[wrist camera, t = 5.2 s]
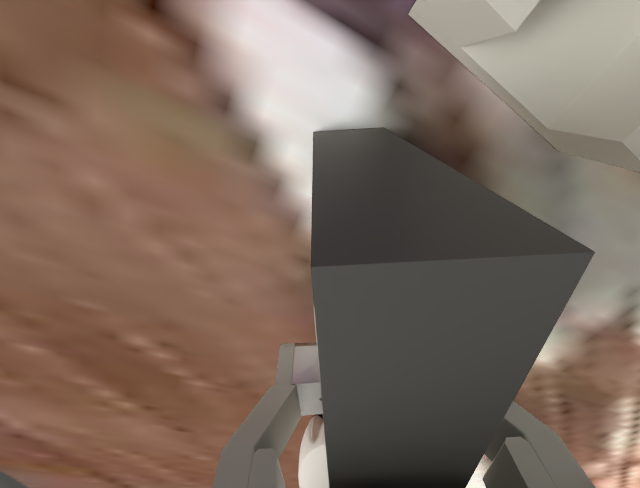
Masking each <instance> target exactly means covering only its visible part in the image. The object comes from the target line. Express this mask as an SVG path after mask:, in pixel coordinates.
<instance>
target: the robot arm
mask: <svg viewBox="0 0 640 488" xmlns="http://www.w3.org/2000/svg"><path fill="white" fill-rule="evenodd" d="M315 414H323V411H322V399H321V387H320V375H319V364H318V352H317V343H285V344H281V347H280V353H279V360H278V368H277V375H276V383H275V386H271V387H270V388H269V389H268V391H267V392H266V393H265V394H264V396H263V397H262V398H261V400H260V401H259V402H258V403H257V405H256V406H255V407H254V409H253V410H252V411H251V413H250V414H249V415H248V416H247V418H246V419H245V420H244V422H243V423H242V424H241V425H240V427H239V428H238V429H237V431H236V432H235V433H234V434H233V436H232V437H231V438H230V440H229V441H228V442H227V443H226V445H225V446H224V447H223V449H222V452H221V456H220V460H219V463H218V467H217V471H216V475H215V479H214V483H213V487H212V488H286V486H285V482H284V478H283V475H282V471H281V468H280V464H279V461H278V459H279V457H280V456H281V454H282V452H283V450H284V448H285V446H286V444H287V443H288V441H289V439H290V437H291V435H292V433H293V431H294V430H295V428H296V426H297V424H298V422H299V420H300V418H301V416H302V415H315ZM484 454H485V455H486V456H487V457H488V458H489V459H490V460H491V461H492V463H491V464H490V466H489V468H488V469H487V471H486V473H485V475H484V477H483V481H484V483H485V486H486V488H595V487H594V485H593V484H592V482H591V481H590V479H589V478H588V477H587V475H586V474H585V472H584V471H583V469H582V468H581V467H580V465H579V464H578V462H577V461H576V459H575V458H574V457H573V455H572V454H571V452H570V451H569V449H568V448H567V447H566V445H565V444H564V442H563V441H562V439H561V438H560V437H559V435H558V434H557V433H556V432H554V431H553V430H552V429H550V428H549V427H548V426H546V425H545V424H544V423H542V422H541V421H540V420H538V419H537V418H536V417H534V416H533V415H532V414H530V413H529V412H528V411H526V410H525V409H524V408H522V407H521V406H520V405H518V404H517V403H516V402H514V401H513V402H512V404H511V406H510V407H509V409H508V411H507V413H506V415H505V416H504V418H503V420H502V422H501V424H500V426H499V427H498V429H497V431H496V433H495V435H494V436H493V438H492V440H491V442H490V444H489V446H488V447H487V449H486V451H485V453H484Z"/></svg>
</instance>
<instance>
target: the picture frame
mask: <svg viewBox="0 0 640 488" xmlns="http://www.w3.org/2000/svg"><path fill="white" fill-rule="evenodd" d="M594 253H595V252H594V251H592V250H591V249H589V248H587V247H586V246H584V245H582V244H580V243H579V242H577V241H575V240H574V239H572V238H570V237H569V236H567V235H565V234H563V233H562V232H560V231H558V230H557V229H555V228H553V227H552V226H550V225H548V224H547V223H545V222H543V221H541V220H540V219H538V218H536V217H535V216H533V215H531V214H530V213H528V212H526V211H524V210H523V209H521V208H519V207H518V206H516V205H514V204H513V203H511V202H509V201H507V200H506V199H504V198H502V197H501V196H499V195H497V194H496V193H494V192H492V191H490V190H489V189H487V188H485V187H484V186H482V185H480V184H479V183H477V182H475V181H473V180H472V179H470V178H468V177H467V176H465V175H463V174H462V173H460V172H458V171H457V170H455V169H453V168H451V167H450V166H448V165H446V164H445V163H443V162H441V161H440V160H438V159H436V158H434V157H433V156H431V155H429V154H428V153H426V152H424V151H423V150H421V149H419V148H417V147H416V146H414V145H412V144H411V143H409V142H407V141H406V140H404V139H402V138H400V137H399V136H397V135H395V134H394V133H392V132H390V131H389V130H387V129H385V128H368V129H351V130H333V131H316V132H313V181H312V235H311V274H312V286H313V298H314V317H315V329H316V340H317V352H318V364H319V375H320V387H321V399H322V411H323V422H324V434H325V446H326V457H327V469H328V481H329V488H465V487H466V486H467V484H468V482H469V480H470V478H471V476H472V475H473V473H474V471H475V469H476V467H477V466H478V464H479V462H480V460H481V458H482V456H483V455H484V453H485V451H486V449H487V447H488V446H489V444H490V442H491V440H492V438H493V436H494V435H495V433H496V431H497V429H498V427H499V426H500V424H501V422H502V420H503V418H504V416H505V415H506V413H507V411H508V409H509V407H510V406H511V404H512V402H513V400H514V398H515V396H516V395H517V393H518V391H519V389H520V387H521V386H522V384H523V382H524V380H525V378H526V377H527V375H528V373H529V371H530V369H531V367H532V366H533V364H534V362H535V360H536V358H537V357H538V355H539V353H540V351H541V349H542V347H543V346H544V344H545V342H546V340H547V338H548V337H549V335H550V333H551V331H552V329H553V327H554V326H555V324H556V322H557V320H558V318H559V317H560V315H561V313H562V311H563V309H564V307H565V306H566V304H567V302H568V300H569V298H570V297H571V295H572V293H573V291H574V289H575V287H576V286H577V284H578V282H579V280H580V278H581V277H582V275H583V273H584V271H585V269H586V267H587V266H588V264H589V262H590V260H591V258H592V257H593V255H594Z"/></svg>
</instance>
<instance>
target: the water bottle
mask: <svg viewBox="0 0 640 488" xmlns="http://www.w3.org/2000/svg"><path fill="white" fill-rule="evenodd" d="M299 486H300V488H329V481H328V469H327V457H326V446H325V434H324V422H323V419H322V418H321V417H320V416H318V415H316V416H314V417H313V418H311V420H310V422H309V424H308V426H307V428H306V430H305V433H304V436H303V439H302V444H301V448H300V458H299Z"/></svg>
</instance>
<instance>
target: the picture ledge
mask: <svg viewBox="0 0 640 488" xmlns="http://www.w3.org/2000/svg"><path fill="white" fill-rule="evenodd" d="M408 15H409V16H411V17H412V18H413V19H414V20H415V21H416V22H417V23H418V24H419V25H420V26H422V27H423V28H424V29H425V30H426V31H427V32H428V33H429V34H430V35H431V36H433V37H434V38H435V39H436V40H437V41H438V42H439V43H440V44H441V45H442V46H444V47H445V48H446V49H447V50H448V51H449V52H450V53H451V54H452V55H453V56H455V57H456V58H457V59H458V60H459V61H460V62H461V63H462V64H463V65H464V66H466V67H467V68H468V69H469V70H470V71H471V72H472V73H473V74H474V75H475V76H476V77H478V78H479V79H480V80H481V81H482V82H483V83H484V84H485V85H486V86H487V87H489V88H490V89H491V90H492V91H493V92H494V93H495V94H496V95H497V96H498V97H500V98H501V99H502V100H503V101H504V102H505V103H506V104H507V105H508V106H509V107H511V108H512V109H513V110H514V111H515V112H516V113H517V114H518V115H519V116H520V117H522V118H523V119H524V120H525V121H526V122H527V123H528V124H529V125H530V126H531V127H533V128H534V129H535V130H536V131H537V132H538V133H539V134H540V135H541V136H542V137H544V138H545V139H546V140H547V141H548V142H549V143H550V144H551V145H552V146H553V147H555V148H556V149H557V150H558V151H560V152H564V153H568V154H572V155H576V156H579V157H583V158H587V159H591V160H595V161H599V162H602V163H606V164H610V165H614V166H618V167H622V168H625V169H629V170H633V171H637V172H640V0H416V2H415V4H414V5H413V7H412V9H411V10H410V12H409V13H408Z"/></svg>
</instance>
